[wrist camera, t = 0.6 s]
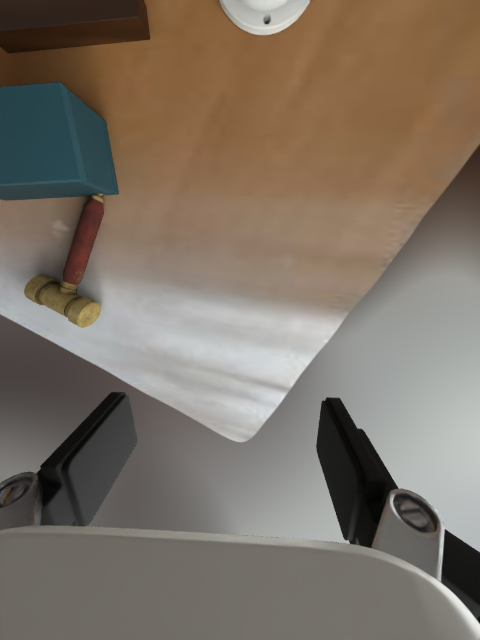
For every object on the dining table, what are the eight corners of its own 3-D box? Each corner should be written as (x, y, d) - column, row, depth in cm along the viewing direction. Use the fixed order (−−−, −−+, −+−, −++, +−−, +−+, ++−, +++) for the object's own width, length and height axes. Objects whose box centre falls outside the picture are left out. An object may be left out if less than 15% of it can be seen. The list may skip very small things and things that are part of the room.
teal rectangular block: (-16, 130, 33) (-97, 95, 25) (106, 121, 32) (59, 81, 24) (6, 200, 35) (-62, 187, 28) (118, 194, 34) (80, 179, 27)
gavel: (57, 165, 32) (120, 198, 31) (83, 179, 36) (139, 208, 36) (20, 300, 36) (74, 330, 36) (47, 298, 40) (96, 324, 40)
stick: (0, 22, 29) (-28, -2, 26) (146, 7, 28) (134, -21, 25) (8, 53, 30) (-18, 33, 27) (150, 39, 29) (139, 16, 26)
